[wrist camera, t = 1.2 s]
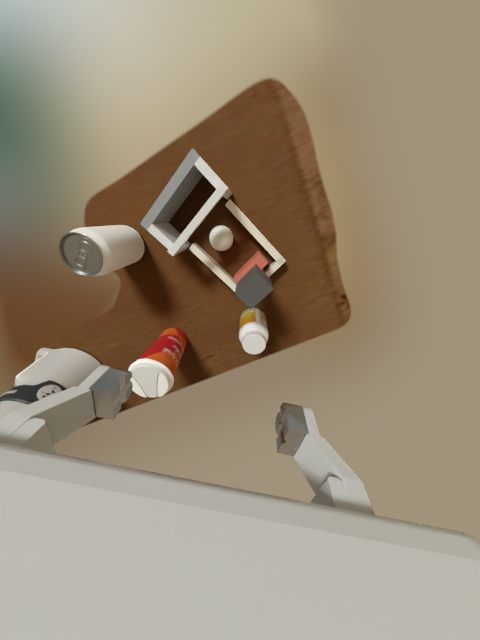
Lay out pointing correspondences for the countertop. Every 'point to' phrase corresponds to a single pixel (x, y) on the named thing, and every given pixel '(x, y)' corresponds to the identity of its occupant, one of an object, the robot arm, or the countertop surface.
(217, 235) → the ball
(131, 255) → the can
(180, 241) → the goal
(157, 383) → the paper cup
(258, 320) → the supplement bottle
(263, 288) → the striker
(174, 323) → the countertop surface
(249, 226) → the white flat open frame
